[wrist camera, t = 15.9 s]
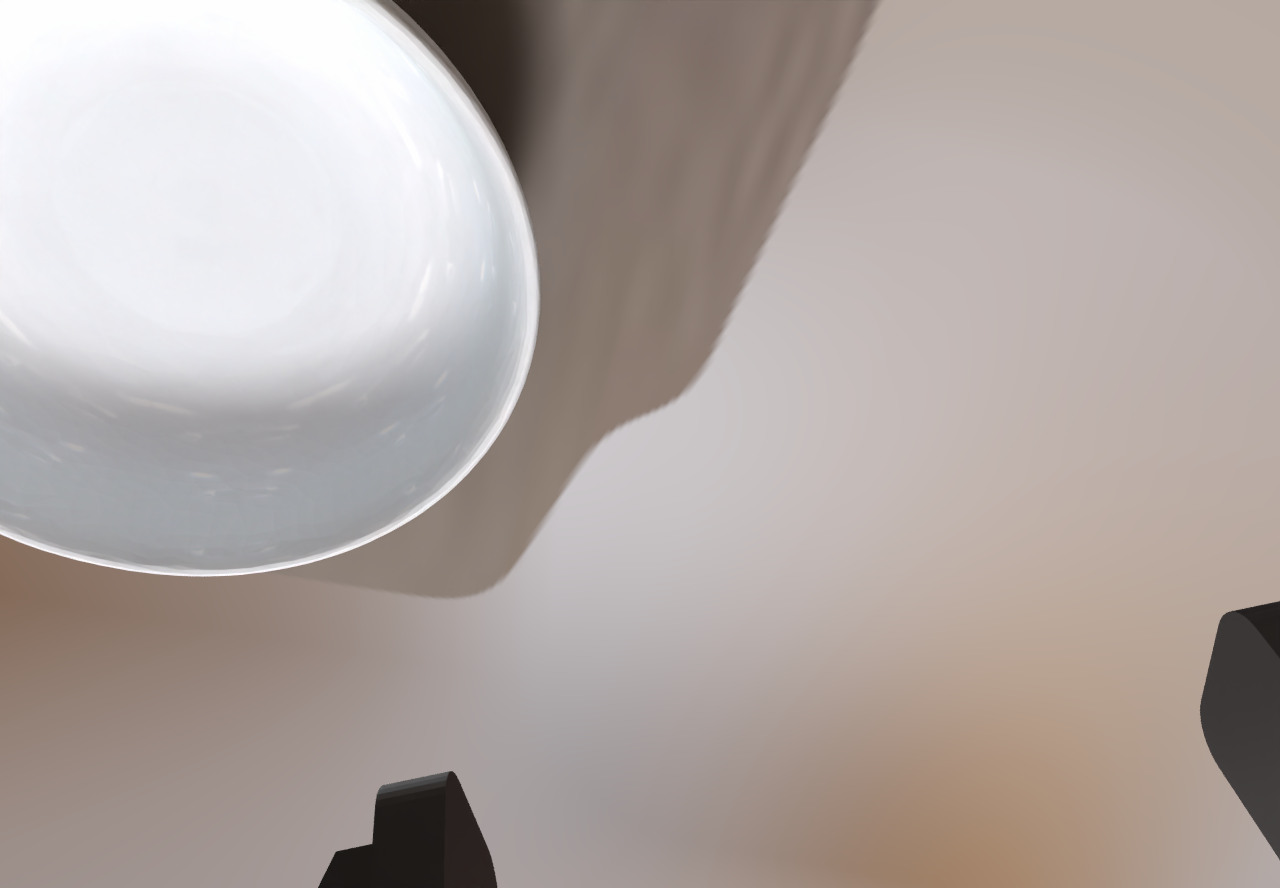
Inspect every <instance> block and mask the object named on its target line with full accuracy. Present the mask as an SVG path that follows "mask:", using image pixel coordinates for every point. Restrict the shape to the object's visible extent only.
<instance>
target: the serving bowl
mask: <svg viewBox="0 0 1280 888" xmlns="http://www.w3.org/2000/svg"><path fill="white" fill-rule="evenodd" d="M539 313H540V268H539V260H538V253H537V245H536V239H535V232H534V228H533V224H532V221H531V217H530V213H529V209H528V206H527V202H526V198H525V196H524V193H523V190H522V187H521V184H520V182H519V179H518V176H517V174H516V171H515V169H514V166H513V164H512V161H511V159H510V157H509V155H508V153H507V150H506V148H505V146H504V144H503V142H502V140H501V138H500V137H499V135H498V133H497V131H496V129H495V127H494V125H493V124H492V122H491V120H490V118H489V116H488V114H487V113H486V111H485V110H484V108H483V106H482V105H481V103H480V102H479V100H478V99H477V97H476V96H475V94H474V92H473V91H472V89H471V88H470V86H469V85H468V84H467V82H466V81H465V79H464V78H463V77H462V75H461V74H460V73H459V71H458V70H457V69H456V68H455V66H454V65H453V64H452V63H451V61H450V60H449V59H448V57H447V56H446V55H445V54H444V52H443V51H442V50H441V49H440V48H439V47H438V46H437V44H436V43H435V42H434V41H433V40H432V39H431V38H430V37H429V36H428V35H427V34H426V33H425V31H424V30H423V29H422V28H421V27H420V26H419V25H418V24H417V23H416V22H415V21H414V20H413V19H412V18H411V17H410V16H409V15H408V14H407V13H406V12H404V11H403V10H402V9H401V8H400V7H399V6H398V5H397V4H396V3H394V2H393V1H392V0H0V534H1V535H4V536H6V537H8V538H11V539H13V540H16V541H18V542H21V543H23V544H26V545H29V546H32V547H35V548H38V549H41V550H43V551H47V552H50V553H54V554H58V555H61V556H64V557H68V558H72V559H75V560H79V561H84V562H88V563H92V564H97V565H102V566H107V567H112V568H118V569H123V570H129V571H137V572H144V573H153V574H164V575H177V576H228V575H242V574H251V573H259V572H266V571H273V570H279V569H284V568H289V567H294V566H299V565H303V564H307V563H311V562H315V561H318V560H322V559H325V558H329V557H332V556H335V555H338V554H341V553H343V552H346V551H349V550H352V549H354V548H357V547H359V546H361V545H364V544H366V543H369V542H371V541H373V540H375V539H377V538H379V537H381V536H383V535H385V534H387V533H389V532H391V531H393V530H395V529H396V528H398V527H400V526H402V525H404V524H405V523H407V522H409V521H410V520H412V519H413V518H415V517H416V516H418V515H419V514H421V513H422V512H424V511H425V510H427V509H428V508H429V507H431V506H432V505H433V504H435V503H436V502H437V501H438V500H440V499H441V498H442V497H444V496H445V495H446V494H447V493H448V492H450V491H451V490H452V489H453V488H454V487H455V486H456V485H457V484H458V483H459V482H460V481H461V480H462V479H463V478H464V477H465V476H466V475H467V474H468V473H469V472H470V471H471V470H472V469H473V467H474V466H475V465H476V464H477V463H478V462H479V460H480V459H481V458H482V457H483V456H484V455H485V453H486V452H487V451H488V450H489V448H490V447H491V445H492V444H493V442H494V441H495V440H496V438H497V437H498V435H499V434H500V432H501V431H502V429H503V427H504V426H505V424H506V422H507V421H508V419H509V417H510V415H511V413H512V411H513V409H514V407H515V405H516V402H517V400H518V398H519V395H520V393H521V391H522V388H523V386H524V383H525V381H526V377H527V374H528V371H529V368H530V365H531V361H532V357H533V353H534V348H535V344H536V338H537V333H538V324H539Z"/></svg>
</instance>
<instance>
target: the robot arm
mask: <svg viewBox="0 0 1280 888" xmlns="http://www.w3.org/2000/svg"><path fill="white" fill-rule="evenodd" d="M1200 716H1201V724H1202V729H1203V732H1204V736H1205V739H1206V742H1207V745H1208V747H1209V749H1210V752H1211V754H1212V756H1213V758H1214V760H1215V762H1216V763H1217V765H1218V767H1219V768H1220V770H1221V771H1222V772H1223V774H1224V775H1225V777H1226V779H1227V780H1228V782H1229V783H1230V785H1231V786H1232V788H1233V789H1234V791H1235V792H1236V794H1237V795H1238V797H1239V799H1240V800H1241V801H1242V803H1243V805H1244V806H1245V808H1246V809H1247V811H1248V812H1249V814H1250V815H1251V817H1252V818H1253V820H1254V821H1255V823H1256V824H1257V826H1258V827H1259V829H1260V830H1261V832H1262V833H1263V835H1264V837H1265V838H1266V840H1267V841H1268V843H1269V844H1270V846H1271V847H1272V849H1273V850H1274V852H1275V853H1276V855H1277V856H1278V858H1279V859H1280V601H1279V602H1274V603H1269V604H1264V605H1259V606H1255V607H1250V608H1245V609H1241V610H1236V611H1231V612H1228V613H1226V614H1225V615H1223V616H1222V618H1221V620H1220V623H1219V626H1218V630H1217V634H1216V639H1215V643H1214V647H1213V652H1212V656H1211V660H1210V665H1209V669H1208V674H1207V678H1206V683H1205V686H1204V691H1203V695H1202V699H1201V705H1200ZM318 888H497V882H496V876H495V871H494V867H493V863H492V858H491V855H490V852H489V850H488V847H487V845H486V842H485V840H484V838H483V835H482V833H481V831H480V828H479V826H478V824H477V821H476V819H475V817H474V815H473V812H472V810H471V807H470V805H469V803H468V800H467V798H466V796H465V793H464V791H463V789H462V787H461V784H460V782H459V780H458V778H457V776H456V774H455V773H454V772H453V771H450V772H445V773H440V774H435V775H430V776H426V777H421V778H416V779H411V780H407V781H401V782H397V783H392V784H387V785H383V786H381V787H380V789H379V791H378V794H377V798H376V804H375V816H374V829H373V843H372V844H370V845H365V846H360V847H356V848H351V849H347V850H341V851H337V852H336V853H335V855H334V857H333V859H332V861H331V863H330V865H329V867H328V869H327V871H326V873H325V875H324V877H323V879H322V881H321V883H320V885H319V887H318Z"/></svg>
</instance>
